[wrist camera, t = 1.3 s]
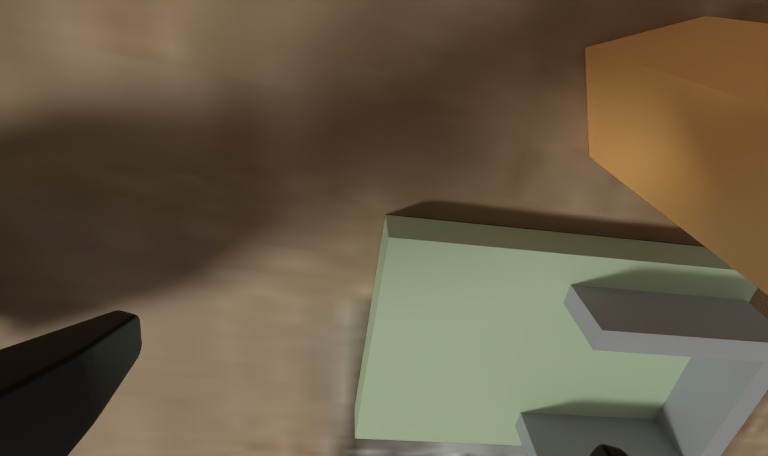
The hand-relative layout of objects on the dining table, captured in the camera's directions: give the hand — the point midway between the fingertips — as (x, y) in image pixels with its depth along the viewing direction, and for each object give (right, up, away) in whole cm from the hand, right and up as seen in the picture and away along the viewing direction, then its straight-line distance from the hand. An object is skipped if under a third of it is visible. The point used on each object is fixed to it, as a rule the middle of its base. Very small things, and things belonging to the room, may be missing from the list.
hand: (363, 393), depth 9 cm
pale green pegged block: (+8, -2, +16) cm, 18 cm away
